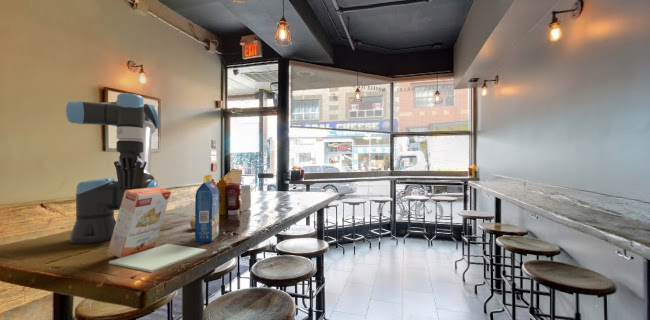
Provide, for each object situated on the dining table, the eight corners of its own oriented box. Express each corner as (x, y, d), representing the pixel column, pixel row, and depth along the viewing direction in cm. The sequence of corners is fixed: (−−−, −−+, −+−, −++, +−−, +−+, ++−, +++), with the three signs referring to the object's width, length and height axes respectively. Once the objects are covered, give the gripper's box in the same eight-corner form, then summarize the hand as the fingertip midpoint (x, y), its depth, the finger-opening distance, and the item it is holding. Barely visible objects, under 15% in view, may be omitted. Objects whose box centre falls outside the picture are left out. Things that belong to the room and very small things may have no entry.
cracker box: (121, 260, 90) (139, 195, 88) (106, 253, 91) (123, 189, 90) (156, 247, 103) (172, 191, 102) (142, 241, 104) (157, 185, 103)
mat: (108, 263, 86) (108, 261, 86) (167, 245, 105) (167, 243, 105) (151, 272, 80) (151, 270, 80) (206, 251, 98) (206, 249, 98)
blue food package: (219, 234, 121) (219, 174, 121) (212, 242, 109) (212, 175, 109) (203, 234, 120) (203, 174, 120) (194, 242, 108) (194, 175, 108)
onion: (198, 232, 125) (198, 215, 125) (186, 230, 129) (186, 214, 129) (213, 228, 132) (213, 212, 132) (201, 226, 136) (201, 211, 136)
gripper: (105, 140, 97) (105, 211, 96) (132, 139, 92) (131, 214, 91) (128, 142, 104) (127, 208, 103) (154, 140, 99) (153, 210, 98)
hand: (129, 211), depth 97 cm, fingers closed
